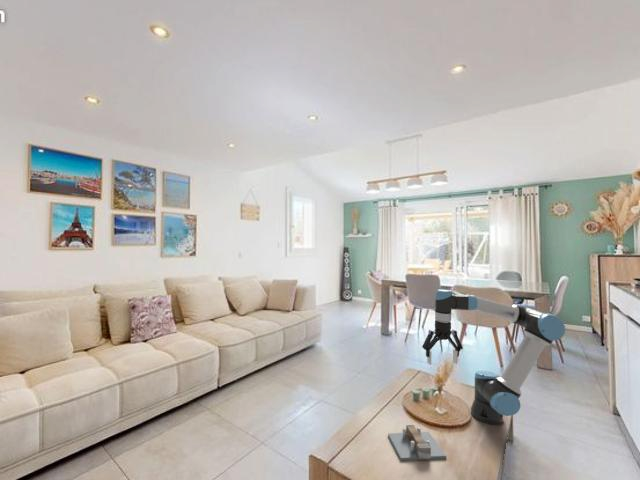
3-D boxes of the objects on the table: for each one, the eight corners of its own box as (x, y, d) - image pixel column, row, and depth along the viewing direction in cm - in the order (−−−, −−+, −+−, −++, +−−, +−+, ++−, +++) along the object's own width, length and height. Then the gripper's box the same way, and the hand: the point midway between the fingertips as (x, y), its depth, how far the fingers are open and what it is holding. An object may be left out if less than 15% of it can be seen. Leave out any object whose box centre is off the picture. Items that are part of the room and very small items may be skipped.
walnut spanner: (404, 434, 137) (404, 425, 137) (414, 434, 138) (415, 424, 138) (419, 458, 122) (419, 448, 122) (430, 458, 122) (430, 447, 122)
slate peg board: (428, 434, 140) (428, 423, 140) (446, 458, 124) (446, 446, 124) (388, 435, 138) (388, 424, 138) (400, 460, 122) (401, 448, 122)
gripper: (462, 318, 152) (461, 359, 152) (416, 318, 149) (415, 360, 149) (470, 322, 144) (470, 365, 144) (422, 322, 142) (421, 366, 142)
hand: (442, 363), depth 147 cm, fingers open, 13 cm apart
